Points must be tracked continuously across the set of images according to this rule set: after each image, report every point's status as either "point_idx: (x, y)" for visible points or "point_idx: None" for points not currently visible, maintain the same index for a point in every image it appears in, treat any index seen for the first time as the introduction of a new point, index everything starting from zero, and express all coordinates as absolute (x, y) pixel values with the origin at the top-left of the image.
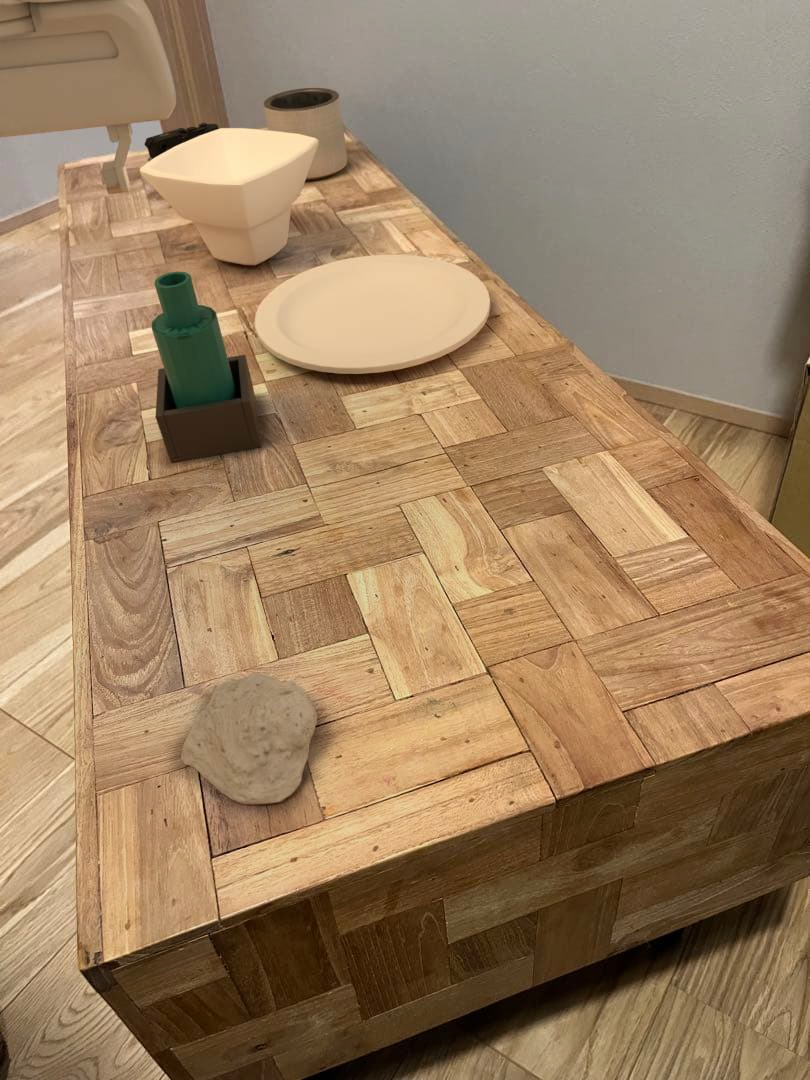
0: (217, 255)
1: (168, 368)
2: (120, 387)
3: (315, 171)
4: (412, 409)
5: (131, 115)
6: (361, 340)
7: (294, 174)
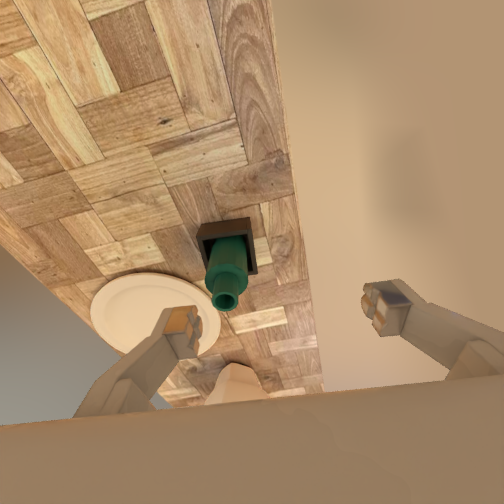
0: (250, 369)
1: (241, 255)
2: (286, 282)
3: None
4: (121, 245)
5: (7, 444)
6: (162, 302)
7: None
